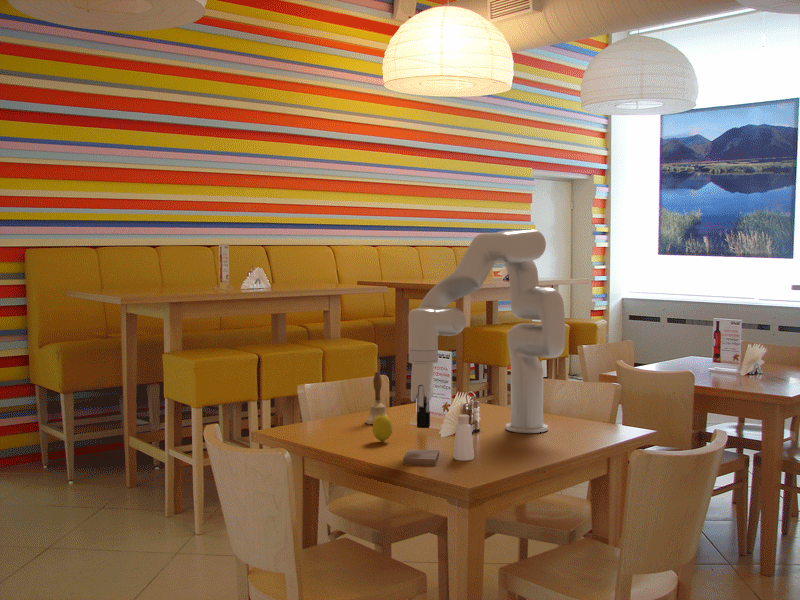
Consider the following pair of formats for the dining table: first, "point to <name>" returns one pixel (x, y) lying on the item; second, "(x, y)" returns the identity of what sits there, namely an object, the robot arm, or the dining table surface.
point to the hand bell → (376, 401)
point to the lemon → (382, 427)
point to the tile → (421, 457)
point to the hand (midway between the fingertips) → (423, 427)
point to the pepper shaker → (463, 440)
